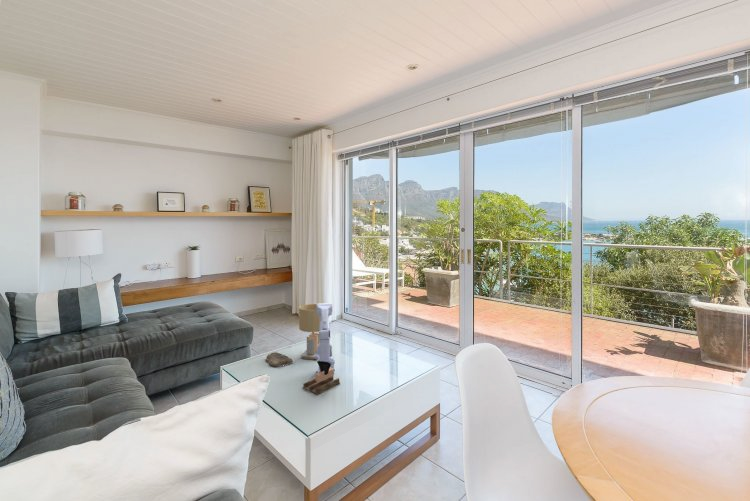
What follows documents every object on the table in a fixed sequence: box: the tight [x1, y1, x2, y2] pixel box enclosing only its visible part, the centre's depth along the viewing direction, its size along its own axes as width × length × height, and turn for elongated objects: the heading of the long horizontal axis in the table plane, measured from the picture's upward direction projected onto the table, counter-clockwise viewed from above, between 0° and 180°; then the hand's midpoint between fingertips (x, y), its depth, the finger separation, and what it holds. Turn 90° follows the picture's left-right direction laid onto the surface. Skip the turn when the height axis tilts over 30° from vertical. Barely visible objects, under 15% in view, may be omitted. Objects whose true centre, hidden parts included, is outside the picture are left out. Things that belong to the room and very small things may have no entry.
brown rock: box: [265, 351, 293, 368], centre depth 239 cm, size 14×5×20 cm
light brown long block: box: [314, 368, 335, 382], centre depth 202 cm, size 12×2×4 cm, turn 141°
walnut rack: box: [302, 375, 341, 396], centre depth 203 cm, size 18×12×3 cm, turn 141°
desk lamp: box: [298, 303, 321, 361], centre depth 249 cm, size 20×20×35 cm
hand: (324, 373), depth 201 cm, fingers closed on light brown long block, 2 cm apart
